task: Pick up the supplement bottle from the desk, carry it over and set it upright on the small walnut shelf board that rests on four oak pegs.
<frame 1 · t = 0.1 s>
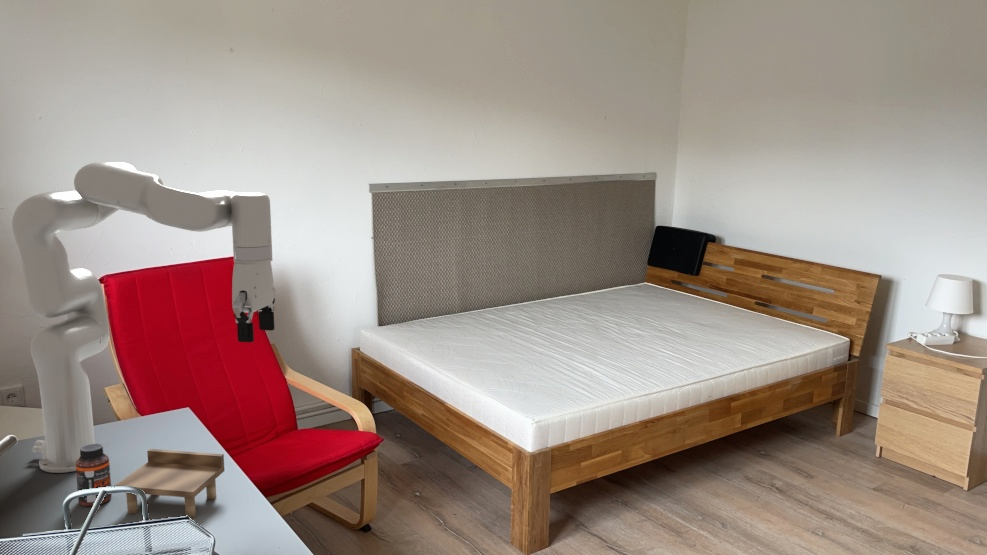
hand: (256, 335, 159), 31 cm above the table, fingers open, 9 cm apart
supplement bottle: (95, 501, 153), on the table
peg shelf: (173, 504, 152), on the table
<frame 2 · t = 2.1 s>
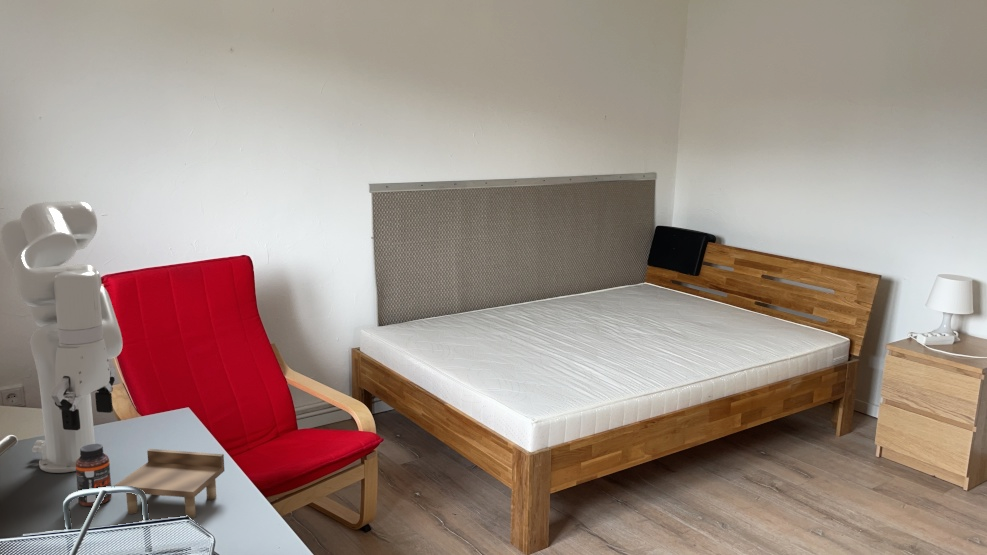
hand: (88, 420, 150), 17 cm above the table, fingers open, 9 cm apart
nothing on the table moved.
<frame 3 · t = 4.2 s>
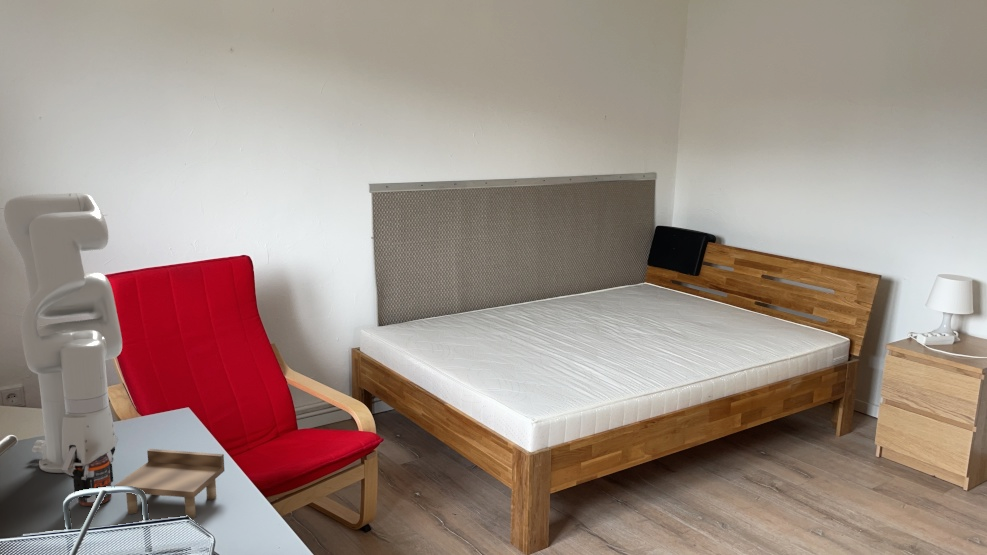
hand: (94, 488, 153), 3 cm above the table, fingers closed on supplement bottle, 6 cm apart
supplement bottle: (95, 501, 153), on the table, touching gripper
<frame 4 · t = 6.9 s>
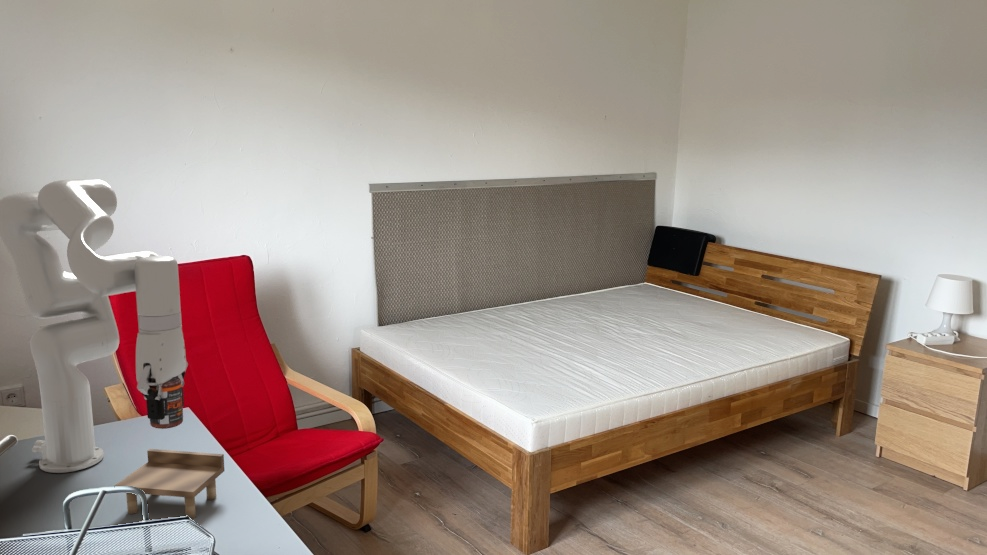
hand: (166, 411, 149), 19 cm above the table, fingers closed on supplement bottle, 6 cm apart
supplement bottle: (167, 425, 149), point 17 cm above the table, touching gripper
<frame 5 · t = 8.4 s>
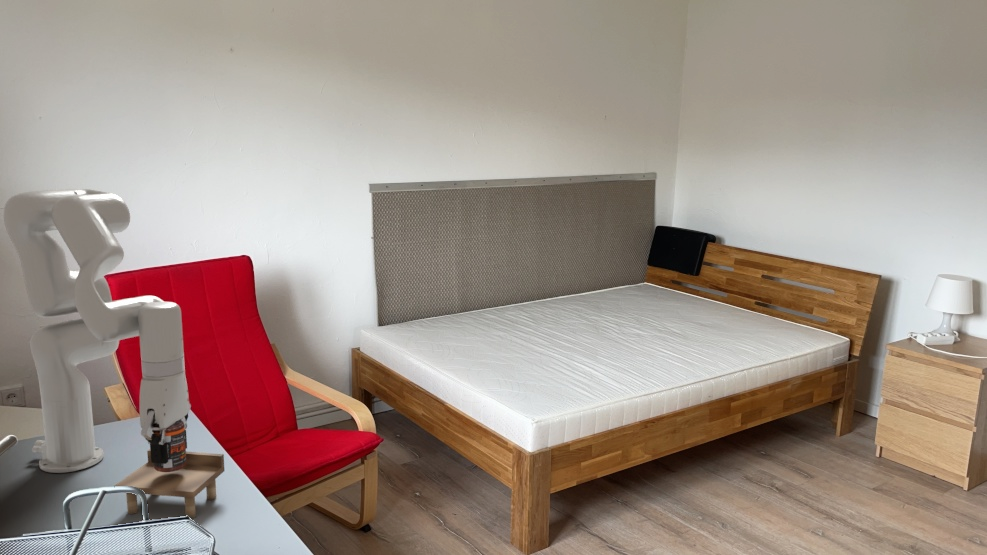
hand: (169, 454, 150), 10 cm above the table, fingers closed on supplement bottle, 6 cm apart
supplement bottle: (170, 468, 151), point 8 cm above the table, touching gripper
when the fingers open (10 cm above the table, at t = 9.4 s): supplement bottle stays where it is, resting on peg shelf.
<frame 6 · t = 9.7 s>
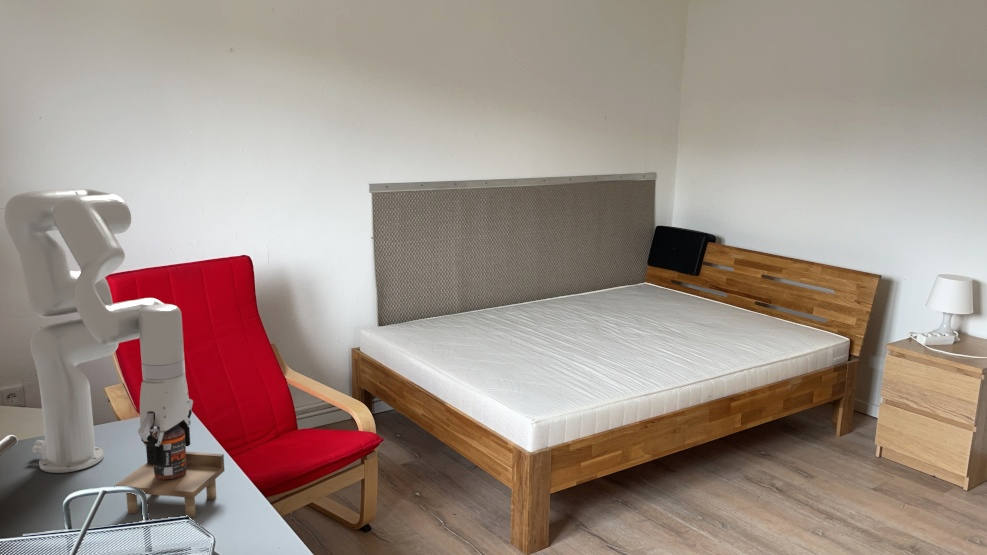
hand: (169, 454, 150), 11 cm above the table, fingers open, 8 cm apart
supplement bottle: (171, 475, 151), point 6 cm above the table, touching peg shelf
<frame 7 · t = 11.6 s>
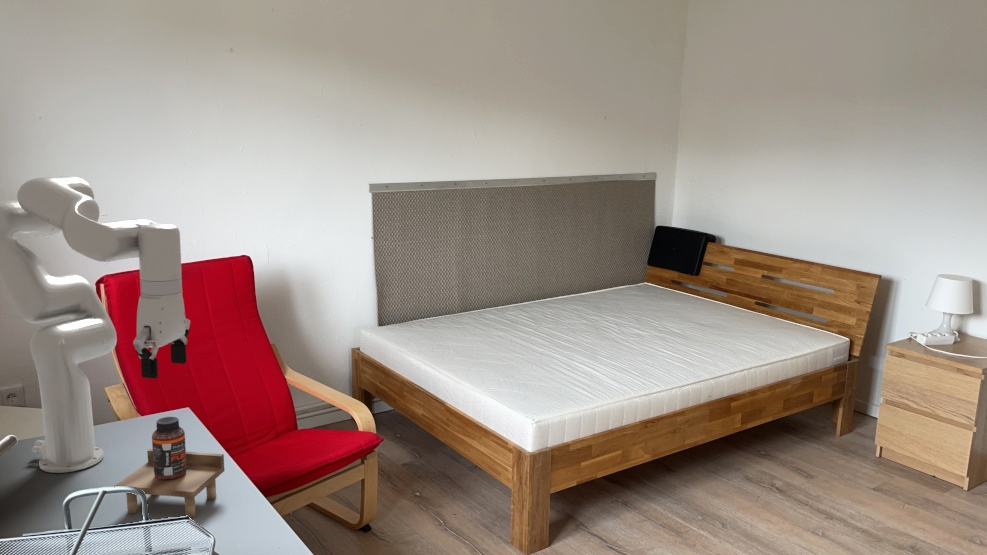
hand: (164, 370, 155), 25 cm above the table, fingers open, 9 cm apart
nothing on the table moved.
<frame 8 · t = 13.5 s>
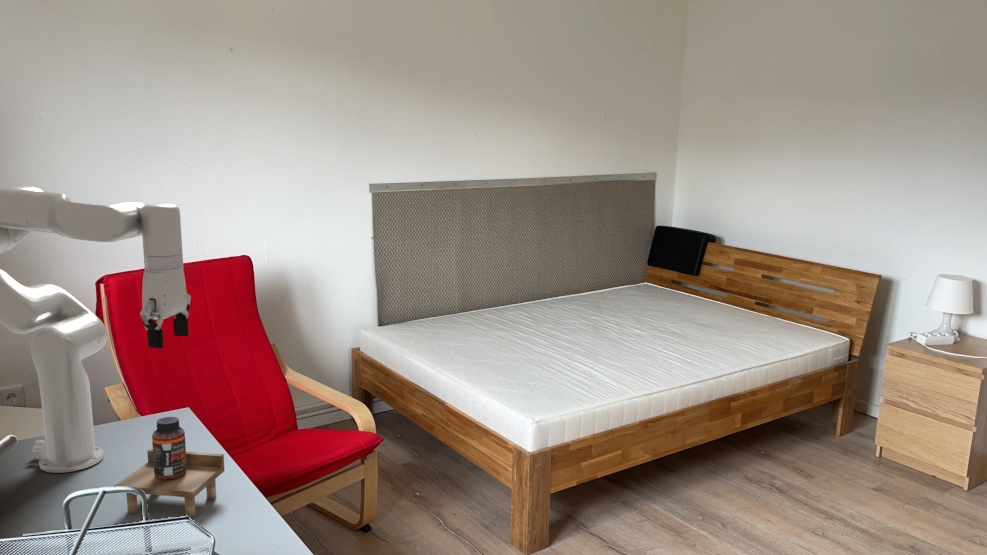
hand: (169, 341, 165), 28 cm above the table, fingers open, 9 cm apart
nothing on the table moved.
at the end: supplement bottle inside the target area on the peg shelf (0.2 cm from its centre), point 6.0 cm above the peg shelf's base; supplement bottle tilted 0°; the gripper is holding nothing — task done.
